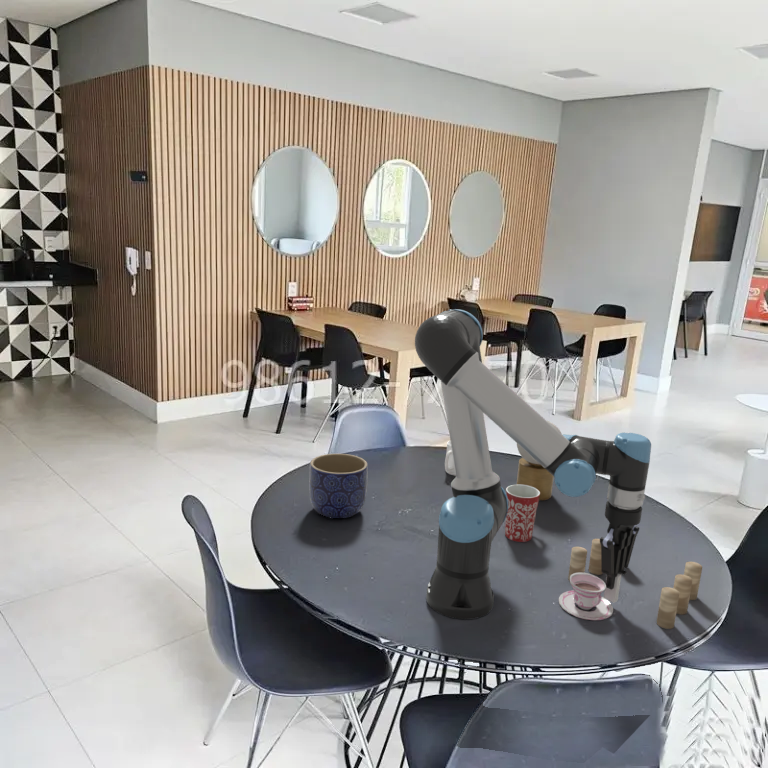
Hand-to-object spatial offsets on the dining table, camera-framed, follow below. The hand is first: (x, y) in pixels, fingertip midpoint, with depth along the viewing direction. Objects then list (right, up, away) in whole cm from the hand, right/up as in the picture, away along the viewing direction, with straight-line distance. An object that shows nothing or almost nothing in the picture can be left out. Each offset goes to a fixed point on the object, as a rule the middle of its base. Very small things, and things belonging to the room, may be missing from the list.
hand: (610, 599), depth 157 cm
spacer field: (+9, 0, +8) cm, 11 cm away
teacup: (-6, -2, 0) cm, 6 cm away
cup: (-28, +19, +77) cm, 84 cm away
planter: (-65, +12, +42) cm, 79 cm away
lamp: (-4, +13, +61) cm, 62 cm away
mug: (-13, +7, +34) cm, 37 cm away
